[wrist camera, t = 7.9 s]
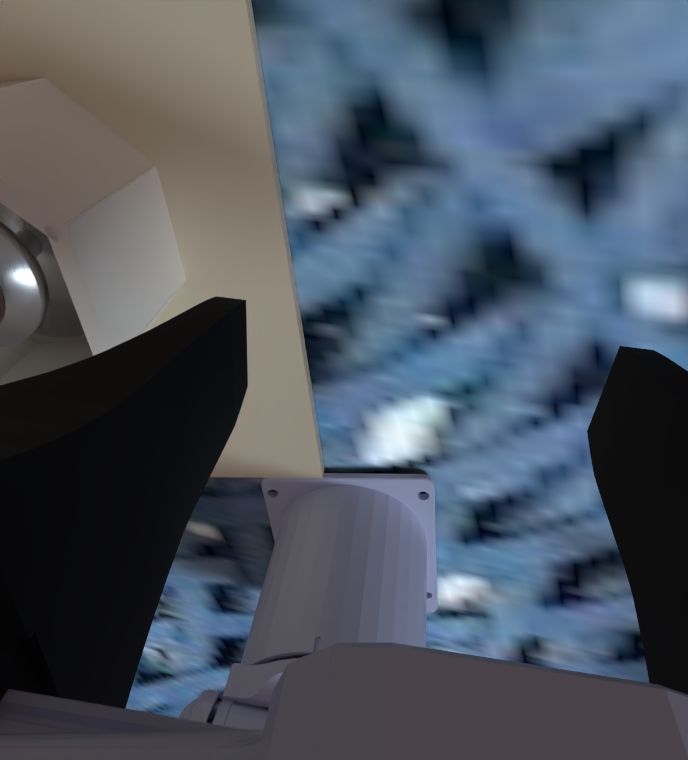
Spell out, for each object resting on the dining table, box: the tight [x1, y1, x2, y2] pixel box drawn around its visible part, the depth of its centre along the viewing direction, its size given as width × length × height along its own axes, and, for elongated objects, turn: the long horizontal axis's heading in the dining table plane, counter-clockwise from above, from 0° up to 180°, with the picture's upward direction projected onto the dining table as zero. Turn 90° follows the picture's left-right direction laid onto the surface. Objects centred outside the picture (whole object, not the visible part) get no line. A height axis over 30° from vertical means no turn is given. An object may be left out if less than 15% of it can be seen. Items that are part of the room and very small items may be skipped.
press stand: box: [0, 0, 325, 478], centre depth 20 cm, size 24×18×7 cm
